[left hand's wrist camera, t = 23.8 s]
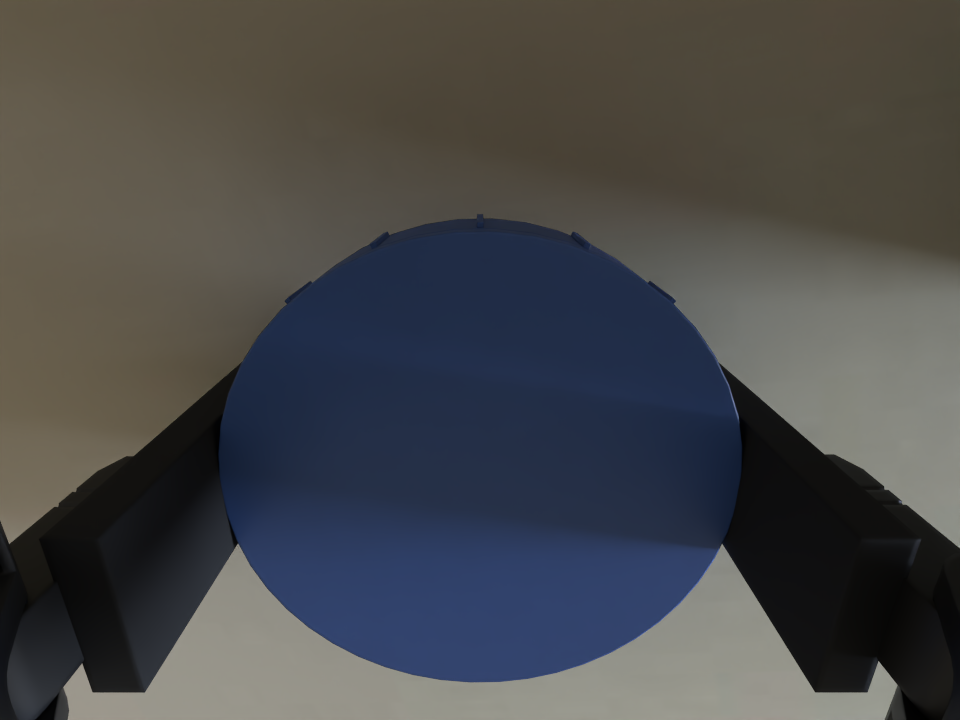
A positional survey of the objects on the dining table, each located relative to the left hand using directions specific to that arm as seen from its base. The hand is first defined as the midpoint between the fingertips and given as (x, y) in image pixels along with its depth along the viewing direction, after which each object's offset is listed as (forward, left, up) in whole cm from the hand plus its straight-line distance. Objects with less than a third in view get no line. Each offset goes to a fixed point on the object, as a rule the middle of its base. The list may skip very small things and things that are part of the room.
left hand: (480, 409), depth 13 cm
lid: (0, 0, +3) cm, 3 cm away
